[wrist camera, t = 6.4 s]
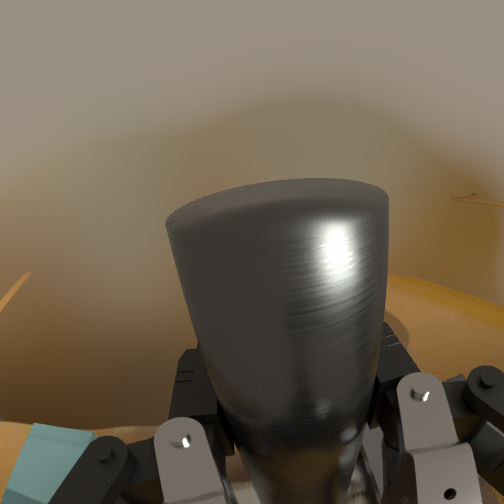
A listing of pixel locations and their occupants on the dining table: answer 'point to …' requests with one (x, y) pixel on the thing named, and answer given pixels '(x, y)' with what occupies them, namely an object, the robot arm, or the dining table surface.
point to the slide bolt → (290, 327)
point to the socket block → (45, 463)
